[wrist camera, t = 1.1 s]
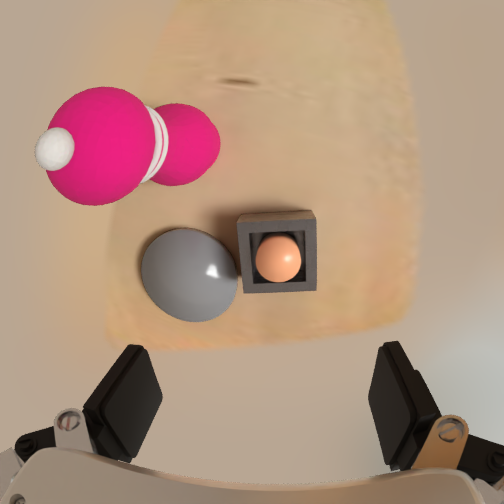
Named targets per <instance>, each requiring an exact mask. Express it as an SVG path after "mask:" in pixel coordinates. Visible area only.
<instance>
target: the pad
mask: <svg viewBox="0 0 504 504" xmlns="http://www.w3.org/2000/svg"><path fill="white" fill-rule="evenodd" d="M141 275H142V280H143V284H144V287H145V289H146V291H147V293H148V295H149V296H150V298H151V299H152V300H153V302H154V303H155V304H156V305H157V306H158V307H159V308H160V309H161V310H163V311H164V312H166V313H167V314H169V315H171V316H172V317H175V318H177V319H180V320H183V321H189V322H203V321H208V320H211V319H213V318H216V317H218V316H219V315H221V314H222V313H223V312H224V311H226V310H227V308H228V307H229V306H230V304H231V303H232V301H233V299H234V296H235V293H236V290H237V285H238V273H237V268H236V265H235V262H234V260H233V257H232V256H231V254H230V252H229V251H228V250H227V248H226V247H225V246H224V245H223V244H222V243H221V242H220V241H219V240H217V239H216V238H215V237H213V236H211V235H210V234H208V233H206V232H203V231H201V230H197V229H192V228H178V229H173V230H170V231H168V232H165V233H164V234H162V235H161V236H159V237H158V238H157V239H155V240H154V241H153V242H152V243H151V244H150V245H149V247H148V248H147V250H146V252H145V254H144V256H143V260H142V266H141Z"/></svg>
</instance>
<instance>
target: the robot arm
mask: <svg viewBox="0 0 504 504" xmlns="http://www.w3.org/2000/svg"><path fill="white" fill-rule="evenodd" d="M368 400H369V405H370V408H371V412H372V415H373V419H374V422H375V426H376V430H377V434H378V437H379V441H380V445H381V449H382V453H383V457H384V462H385V464H386V465H390V469H391V471H394V470H398V469H400V471H399V472H394V473H388V474H382V475H376V476H370V477H365V478H357V479H349V480H341V481H332V482H320V483H305V484H250V483H234V482H223V481H214V480H206V479H199V478H192V477H186V476H180V475H174V474H169V473H164V472H160V471H155V470H150V469H147V468H143V467H139V466H135V465H131V464H128V463H130V462H131V460H132V458H135V457H136V456H137V454H138V452H139V449H140V447H141V445H142V443H143V441H144V439H145V436H146V434H147V432H148V430H149V428H150V426H151V423H152V421H153V419H154V417H155V415H156V413H157V410H158V408H159V406H160V404H161V402H162V392H161V389H160V387H159V384H158V381H157V378H156V376H155V373H154V369H153V367H152V364H151V361H150V357H149V354H148V352H147V350H146V349H144V347H143V346H141V345H132V344H130V345H128V346H127V347H126V349H125V350H124V351H123V353H122V354H121V355H120V356H119V358H118V359H117V360H116V362H115V363H114V365H113V366H112V367H111V368H110V370H109V371H108V373H107V374H106V375H105V377H104V378H103V379H102V381H101V382H100V383H99V385H98V386H97V388H96V389H95V390H94V392H93V393H92V395H91V396H90V397H89V399H88V400H87V401H86V403H85V404H84V406H83V408H84V409H83V410H82V412H81V411H80V410H78V409H75V408H69V409H65V410H63V411H61V412H60V413H59V414H58V415H57V416H56V417H55V419H54V426H52V427H49V428H46V429H42V430H39V431H35V432H32V433H28V434H25V435H22V436H21V437H20V438H19V439H18V440H17V441H16V444H15V449H14V450H13V449H12V448H9V449H7V450H6V451H4V452H2V453H0V504H504V446H503V445H500V444H497V443H494V442H490V441H488V440H485V439H482V438H479V437H476V436H473V435H470V434H468V433H469V428H468V425H467V423H466V421H465V420H463V419H462V418H461V417H459V416H456V415H445V416H442V415H441V413H440V411H439V409H438V407H437V405H436V403H435V401H434V399H433V397H432V395H431V393H430V391H429V389H428V387H427V385H426V383H425V381H424V379H423V378H422V376H421V374H420V372H419V371H418V370H414V369H413V367H412V365H411V363H410V361H409V359H408V357H407V356H406V354H405V352H404V350H403V348H402V346H401V345H400V343H399V342H398V341H392V342H385V343H384V344H383V346H382V347H379V350H378V355H377V359H376V364H375V369H374V373H373V377H372V382H371V386H370V390H369V395H368ZM118 460H120V461H123V462H120V461H118ZM124 462H127V463H124Z"/></svg>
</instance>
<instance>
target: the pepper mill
mask: <svg viewBox="0 0 504 504" xmlns="http://www.w3.org/2000/svg"><path fill="white" fill-rule="evenodd" d="M219 151H220V136H219V133H218V131H217V129H216V127H215V126H214V125H213V123H212V122H211V121H210V119H209V118H208V117H207V116H206V115H205V114H204V113H203V112H202V111H200V110H199V109H197V108H195V107H193V106H190V105H185V104H178V103H176V104H167V105H163V106H160V107H158V108H155V109H152V108H150V107H148V106H145V105H144V104H143V103H142V102H141V100H139V99H138V98H137V97H135V96H134V95H133V94H131V93H129V92H127V91H125V90H122V89H118V88H114V87H97V88H91V89H87V90H85V91H82V92H80V93H78V94H76V95H74V96H73V97H71V98H70V99H69V100H67V101H66V102H65V103H64V104H63V105H62V106H61V107H60V108H59V109H58V111H57V112H56V113H55V115H54V117H53V119H52V120H51V122H50V124H49V127H48V129H47V131H45V132H44V133H43V134H42V135H41V136H40V137H39V139H38V141H37V144H36V146H35V157H36V160H37V162H38V164H39V165H40V166H41V167H42V168H44V169H46V172H47V174H48V177H49V179H50V181H51V183H52V184H53V186H54V187H55V188H56V189H57V190H58V191H59V192H60V193H61V194H62V195H63V196H65V197H66V198H68V199H69V200H71V201H73V202H76V203H79V204H82V205H94V206H97V205H104V204H108V203H112V202H115V201H117V200H119V199H121V198H123V197H124V196H126V195H127V194H129V193H130V192H132V191H133V190H134V189H135V188H136V187H137V186H138V185H139V184H140V183H143V182H145V181H147V180H148V179H150V180H152V181H154V182H156V183H158V184H162V185H166V186H177V185H184V184H187V183H190V182H193V181H194V180H196V179H198V178H199V177H200V176H201V175H203V174H204V173H205V172H206V171H207V169H208V168H210V167H211V166H212V165H213V163H214V162H215V160H216V159H217V157H218V154H219Z"/></svg>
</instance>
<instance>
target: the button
mask: <svg viewBox="0 0 504 504" xmlns="http://www.w3.org/2000/svg"><path fill="white" fill-rule="evenodd" d="M300 266H301V256H300V251H299V247H298V244H297V242H296V241H295V239H294V238H293V237H291V236H290V235H288V234H286V233H281V232H276V233H271V234H269V235H267V236H266V237H264V238H263V239H262V240H261V242H260V244H259V246H258V250H257V255H256V267H257V269H258V271H259V273H260V274H261V275H262V276H263V277H264V278H265V279H267V280H269V281H272V282H284V281H287V280H290V279H291V278H293V277H294V276H295V275H296V274H297V272H298V271H299V269H300Z"/></svg>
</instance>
